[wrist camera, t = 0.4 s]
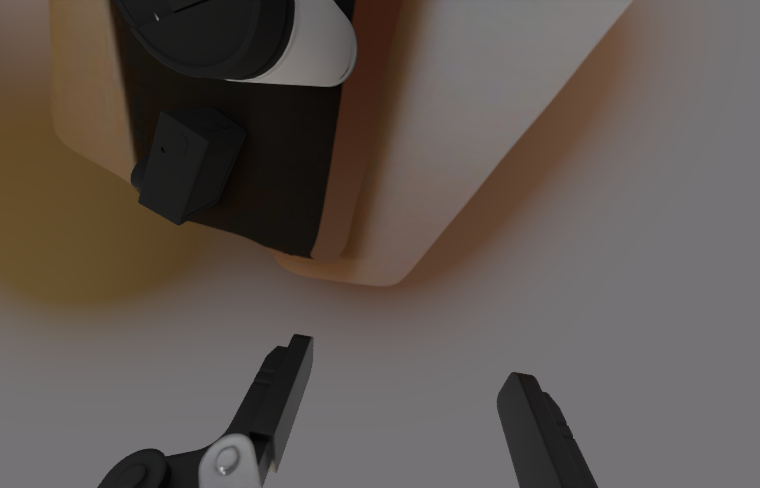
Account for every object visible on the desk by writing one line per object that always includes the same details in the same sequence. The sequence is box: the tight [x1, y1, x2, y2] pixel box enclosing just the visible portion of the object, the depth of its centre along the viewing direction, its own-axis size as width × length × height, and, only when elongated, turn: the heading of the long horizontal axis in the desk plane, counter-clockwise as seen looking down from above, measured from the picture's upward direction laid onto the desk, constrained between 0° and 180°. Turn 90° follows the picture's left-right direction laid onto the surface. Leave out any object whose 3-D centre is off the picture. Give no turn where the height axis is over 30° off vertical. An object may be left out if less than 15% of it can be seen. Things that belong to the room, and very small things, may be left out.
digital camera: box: [131, 107, 248, 225], centre depth 29 cm, size 10×5×7 cm, turn 145°
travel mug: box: [114, 0, 358, 87], centre depth 17 cm, size 6×7×20 cm
